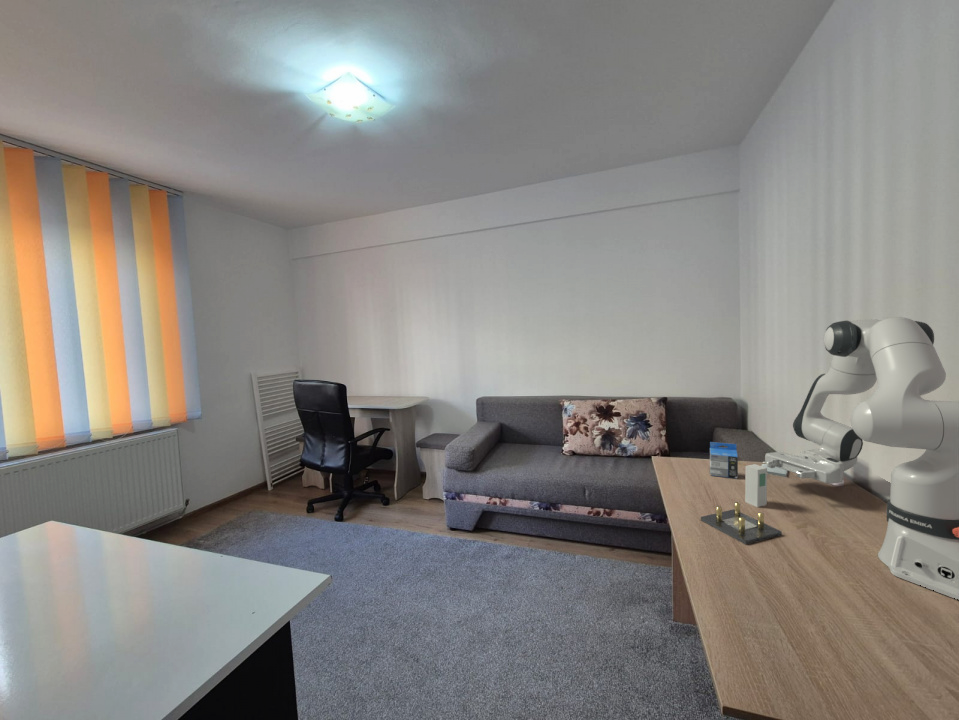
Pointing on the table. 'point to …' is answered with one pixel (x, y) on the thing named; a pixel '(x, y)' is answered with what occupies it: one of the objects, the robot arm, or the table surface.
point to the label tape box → (723, 460)
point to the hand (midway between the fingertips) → (783, 469)
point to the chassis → (741, 525)
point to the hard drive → (775, 471)
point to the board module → (756, 485)
